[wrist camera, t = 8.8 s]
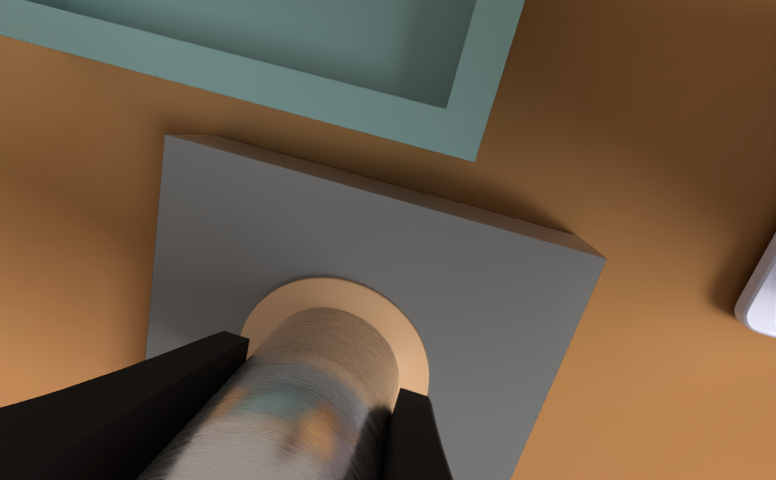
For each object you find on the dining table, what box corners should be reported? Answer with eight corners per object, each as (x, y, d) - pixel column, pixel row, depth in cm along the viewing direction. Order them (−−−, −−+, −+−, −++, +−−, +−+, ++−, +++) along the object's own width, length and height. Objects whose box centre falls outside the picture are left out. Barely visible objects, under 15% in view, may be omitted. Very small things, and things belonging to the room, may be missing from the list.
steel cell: (415, 333, 9) (351, 674, 3) (380, 449, 10) (282, 873, 4) (276, 289, 9) (-7, 535, 4) (254, 406, 10) (3, 749, 5)
